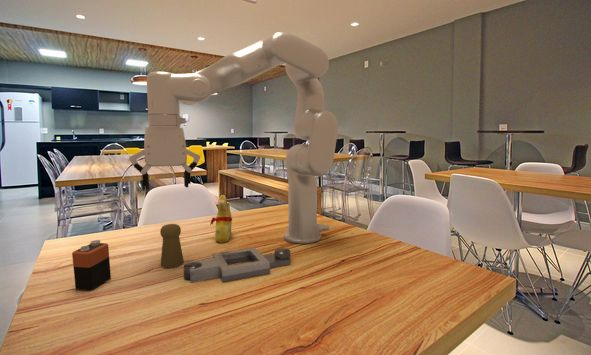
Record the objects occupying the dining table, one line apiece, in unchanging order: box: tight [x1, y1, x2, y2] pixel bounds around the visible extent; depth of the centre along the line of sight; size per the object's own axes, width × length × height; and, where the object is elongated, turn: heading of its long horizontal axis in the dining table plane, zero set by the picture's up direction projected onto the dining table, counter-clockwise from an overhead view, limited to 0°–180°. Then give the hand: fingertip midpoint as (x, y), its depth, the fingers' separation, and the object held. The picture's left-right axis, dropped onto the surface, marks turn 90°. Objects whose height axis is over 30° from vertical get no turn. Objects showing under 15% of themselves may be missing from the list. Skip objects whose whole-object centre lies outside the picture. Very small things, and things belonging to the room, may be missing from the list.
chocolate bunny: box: [210, 194, 233, 244], centre depth 112 cm, size 7×11×15 cm, turn 2°
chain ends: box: [183, 247, 291, 284], centre depth 88 cm, size 28×12×3 cm, turn 115°
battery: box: [71, 239, 112, 291], centre depth 78 cm, size 4×7×10 cm, turn 172°
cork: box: [159, 223, 185, 269], centre depth 90 cm, size 6×6×11 cm
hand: (167, 187), depth 88 cm, fingers open, 9 cm apart
